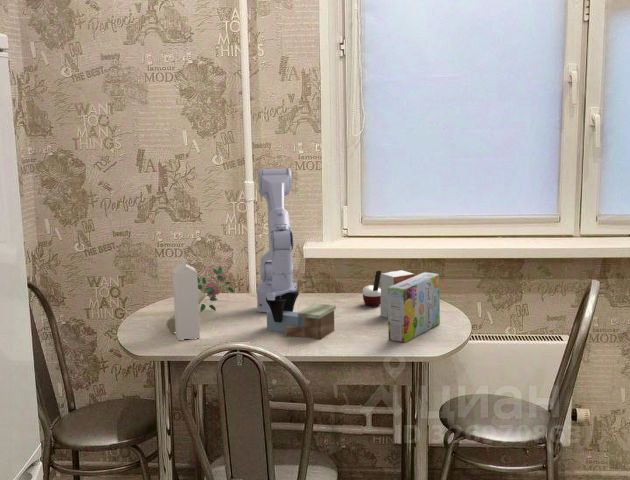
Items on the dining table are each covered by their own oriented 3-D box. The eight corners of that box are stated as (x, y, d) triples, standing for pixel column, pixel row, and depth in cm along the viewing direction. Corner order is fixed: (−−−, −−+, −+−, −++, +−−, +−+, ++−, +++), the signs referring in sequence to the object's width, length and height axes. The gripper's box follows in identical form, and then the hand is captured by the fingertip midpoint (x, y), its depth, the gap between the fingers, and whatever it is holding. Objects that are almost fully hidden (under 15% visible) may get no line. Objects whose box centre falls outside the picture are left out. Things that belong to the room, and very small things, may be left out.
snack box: (423, 321, 231) (423, 271, 228) (440, 324, 228) (441, 273, 225) (386, 340, 214) (386, 286, 211) (405, 343, 211) (405, 288, 208)
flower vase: (168, 356, 227) (206, 300, 258) (206, 347, 223) (240, 291, 254) (151, 321, 223) (192, 268, 254) (189, 311, 219) (225, 259, 251)
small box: (393, 320, 233) (393, 277, 231) (380, 315, 238) (380, 273, 236) (414, 315, 237) (414, 273, 235) (400, 311, 243) (401, 269, 240)
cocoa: (363, 303, 254) (361, 266, 253) (382, 302, 254) (381, 265, 252) (363, 309, 245) (361, 271, 243) (383, 309, 244) (382, 270, 243)
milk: (178, 341, 216) (173, 262, 212) (175, 335, 221) (171, 257, 217) (200, 338, 217) (196, 260, 213) (197, 332, 223) (193, 256, 219)
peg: (267, 330, 225) (266, 313, 225) (273, 326, 229) (273, 309, 228) (298, 334, 221) (298, 316, 220) (304, 330, 225) (304, 313, 224)
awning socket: (284, 336, 219) (284, 311, 218) (303, 325, 229) (302, 301, 228) (319, 340, 214) (318, 315, 213) (336, 329, 224) (336, 305, 223)
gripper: (282, 279, 214) (283, 327, 217) (306, 268, 227) (306, 314, 230) (259, 276, 217) (261, 324, 220) (284, 266, 230) (285, 311, 233)
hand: (283, 319), depth 225 cm, fingers open, 5 cm apart
